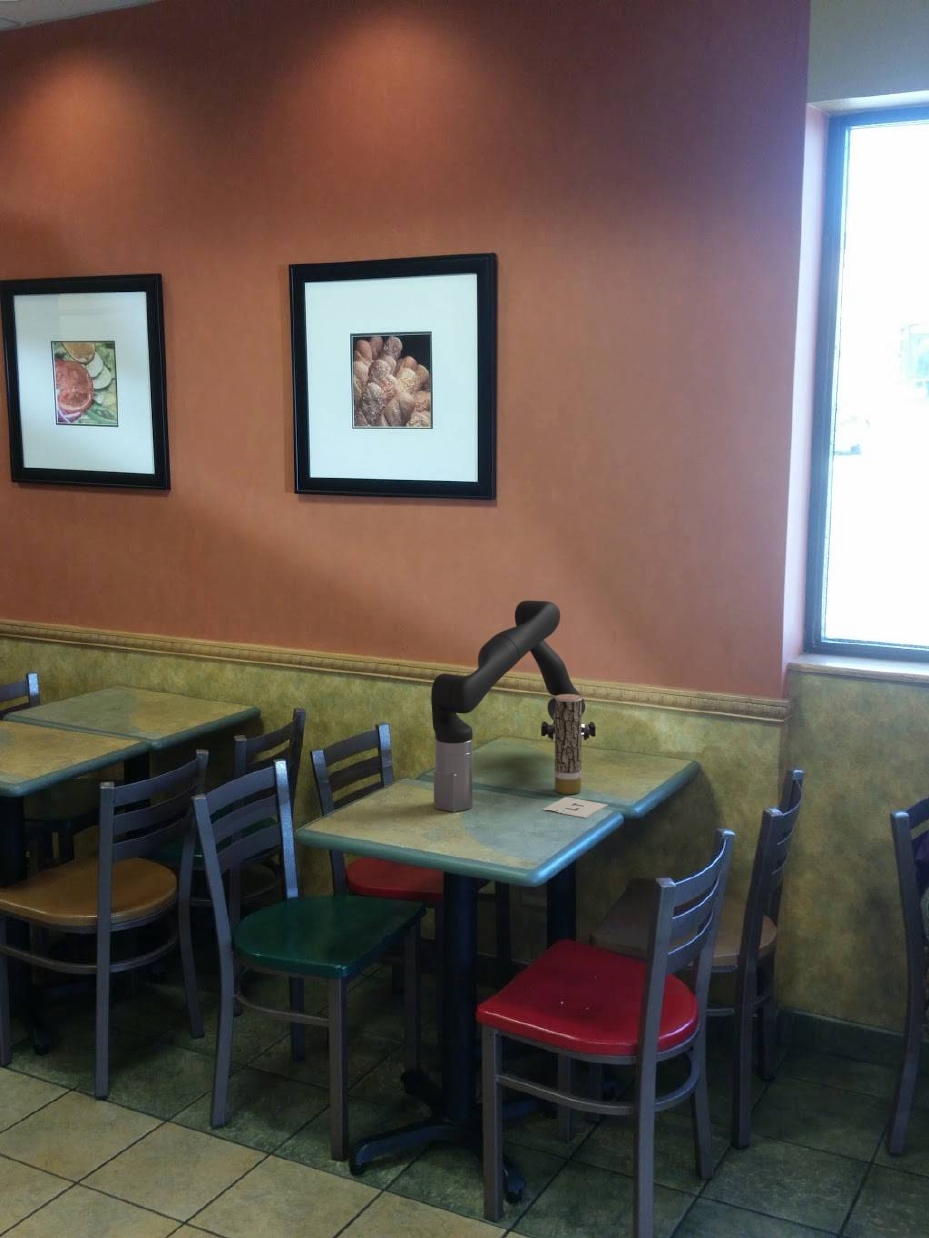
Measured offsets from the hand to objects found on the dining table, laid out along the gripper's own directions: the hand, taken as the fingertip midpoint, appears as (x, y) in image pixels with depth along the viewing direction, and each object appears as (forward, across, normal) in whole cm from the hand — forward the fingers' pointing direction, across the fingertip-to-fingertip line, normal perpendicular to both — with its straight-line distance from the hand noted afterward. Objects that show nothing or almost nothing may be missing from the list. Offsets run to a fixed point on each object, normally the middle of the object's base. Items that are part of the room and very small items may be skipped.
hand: (568, 736), depth 317 cm
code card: (+14, +1, +14) cm, 20 cm away
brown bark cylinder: (+1, 0, +15) cm, 15 cm away
